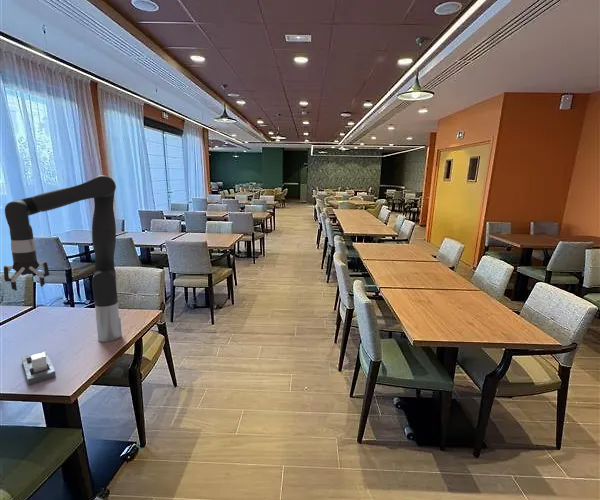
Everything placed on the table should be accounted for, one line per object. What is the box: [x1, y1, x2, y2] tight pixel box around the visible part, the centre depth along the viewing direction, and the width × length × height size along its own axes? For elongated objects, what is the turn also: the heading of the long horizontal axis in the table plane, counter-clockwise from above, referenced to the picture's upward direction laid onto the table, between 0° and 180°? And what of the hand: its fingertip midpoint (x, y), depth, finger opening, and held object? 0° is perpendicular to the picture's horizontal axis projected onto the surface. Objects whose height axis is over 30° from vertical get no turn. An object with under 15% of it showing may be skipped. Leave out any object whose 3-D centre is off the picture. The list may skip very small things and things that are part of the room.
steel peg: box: [31, 351, 49, 375], centre depth 124 cm, size 4×4×8 cm
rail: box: [21, 350, 57, 386], centre depth 128 cm, size 8×20×2 cm, turn 44°
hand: (29, 288), depth 137 cm, fingers open, 8 cm apart
